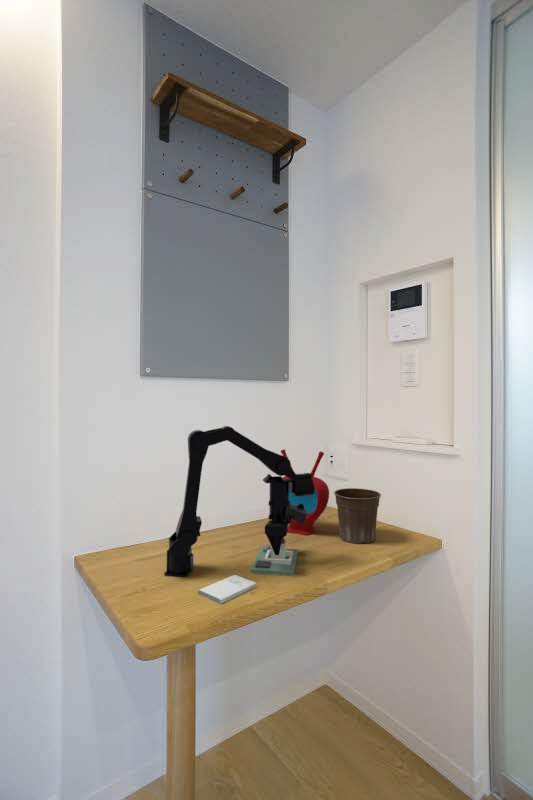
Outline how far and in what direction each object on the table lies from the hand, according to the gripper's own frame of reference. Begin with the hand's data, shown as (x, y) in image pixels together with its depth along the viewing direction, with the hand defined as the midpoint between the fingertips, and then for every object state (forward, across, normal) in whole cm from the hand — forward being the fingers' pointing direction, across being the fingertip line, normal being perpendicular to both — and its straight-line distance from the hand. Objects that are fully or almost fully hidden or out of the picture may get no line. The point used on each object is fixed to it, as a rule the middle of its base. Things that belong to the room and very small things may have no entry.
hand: (278, 549), depth 123 cm
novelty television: (+4, +33, -5) cm, 34 cm away
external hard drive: (+4, -20, +11) cm, 24 cm away
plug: (+3, 0, 0) cm, 3 cm away
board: (+4, 0, +1) cm, 4 cm away
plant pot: (+4, +26, -25) cm, 36 cm away
